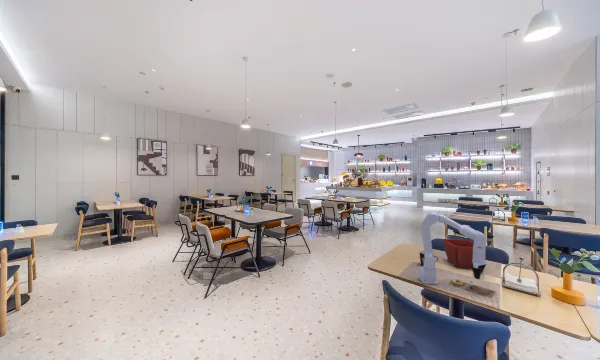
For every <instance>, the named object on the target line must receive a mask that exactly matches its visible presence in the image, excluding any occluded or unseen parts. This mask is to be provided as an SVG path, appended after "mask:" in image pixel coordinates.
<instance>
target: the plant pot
mask: <svg viewBox="0 0 600 360" xmlns="http://www.w3.org/2000/svg"><path fill="white" fill-rule="evenodd" d="M442 241H443V247H444V251H445V255H446V258H447V261H448V263H450V264H451V265H453V266H454V267H456V268H457V269H469V270H472V268H471V265H473V262H472V260H473V245H474V241H470V239H469V240H468V239H446V238H444V239H442Z"/></svg>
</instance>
